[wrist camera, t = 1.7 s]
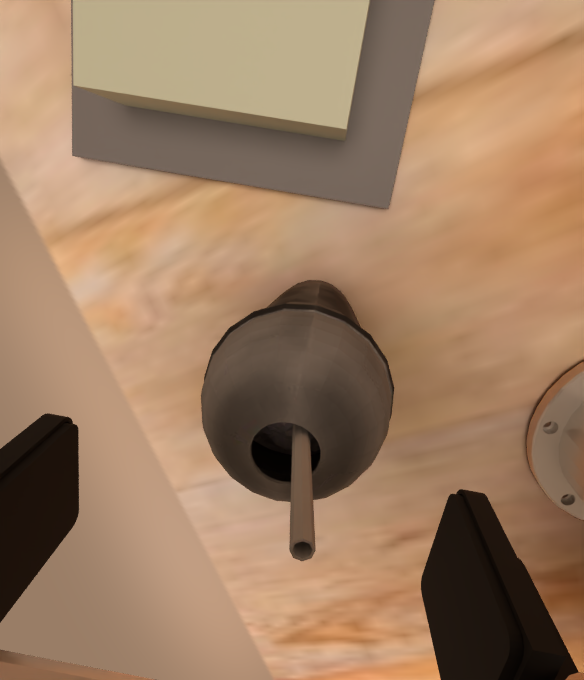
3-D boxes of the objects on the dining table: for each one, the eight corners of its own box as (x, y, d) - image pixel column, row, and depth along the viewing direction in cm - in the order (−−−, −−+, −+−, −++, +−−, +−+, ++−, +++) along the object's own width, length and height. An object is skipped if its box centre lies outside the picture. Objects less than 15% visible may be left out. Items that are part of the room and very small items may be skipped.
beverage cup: (232, 311, 28) (18, 556, 9) (316, 230, 26) (258, 338, 7) (310, 390, 30) (259, 747, 11) (397, 319, 27) (524, 607, 9)
